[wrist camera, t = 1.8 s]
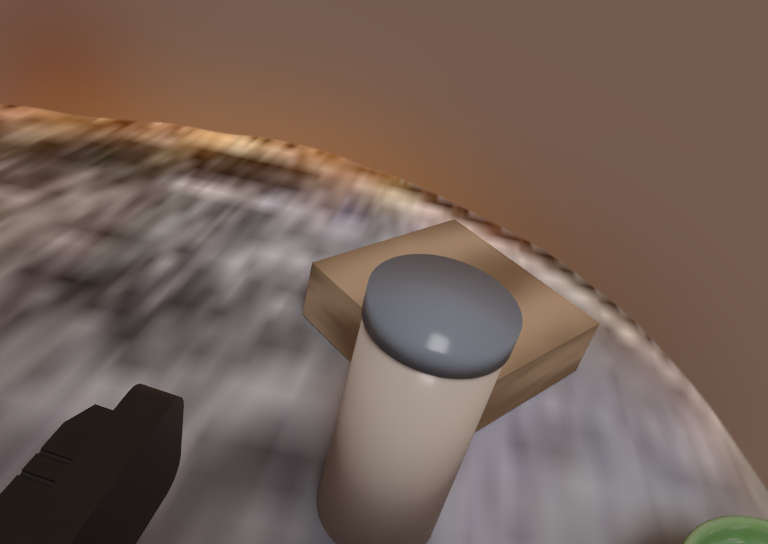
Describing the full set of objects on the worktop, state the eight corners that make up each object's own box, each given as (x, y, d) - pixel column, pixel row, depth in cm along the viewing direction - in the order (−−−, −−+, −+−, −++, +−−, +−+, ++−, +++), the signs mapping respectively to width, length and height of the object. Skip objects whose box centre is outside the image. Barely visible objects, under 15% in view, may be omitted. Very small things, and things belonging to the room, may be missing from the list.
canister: (289, 489, 28) (334, 276, 22) (382, 438, 32) (444, 240, 26) (369, 589, 26) (447, 377, 19) (462, 522, 29) (553, 322, 23)
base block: (302, 314, 38) (312, 262, 36) (440, 265, 45) (454, 219, 43) (442, 452, 32) (463, 399, 30) (575, 370, 39) (599, 323, 37)
